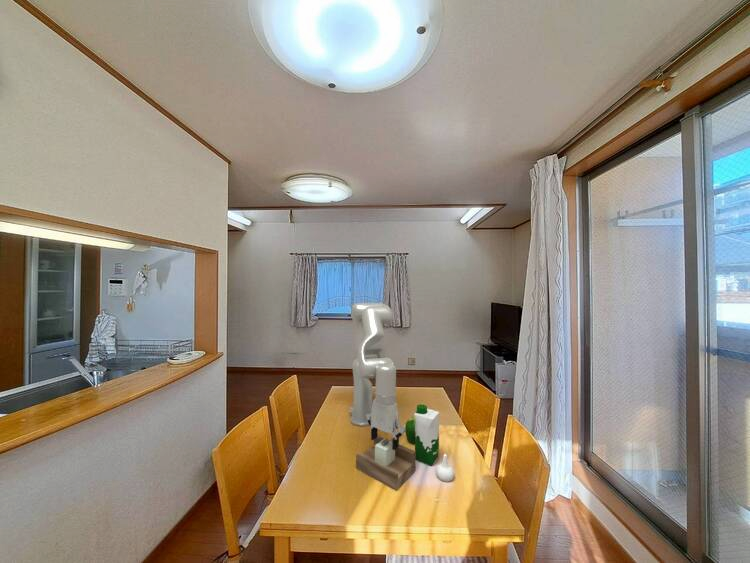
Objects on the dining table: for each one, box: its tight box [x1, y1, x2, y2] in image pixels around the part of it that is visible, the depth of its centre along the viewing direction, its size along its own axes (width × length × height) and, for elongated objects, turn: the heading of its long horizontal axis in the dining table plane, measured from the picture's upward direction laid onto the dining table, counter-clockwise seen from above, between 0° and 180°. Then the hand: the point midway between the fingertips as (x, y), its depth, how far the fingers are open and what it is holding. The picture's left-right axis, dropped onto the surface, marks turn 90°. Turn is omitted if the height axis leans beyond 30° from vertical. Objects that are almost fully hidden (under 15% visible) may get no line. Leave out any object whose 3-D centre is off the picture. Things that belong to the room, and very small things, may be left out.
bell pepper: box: [404, 415, 415, 445], centre depth 120 cm, size 8×8×10 cm
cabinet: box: [375, 437, 395, 467], centre depth 101 cm, size 5×6×7 cm
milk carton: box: [413, 404, 440, 467], centre depth 108 cm, size 9×9×20 cm
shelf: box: [355, 435, 417, 491], centre depth 101 cm, size 13×18×7 cm
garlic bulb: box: [435, 453, 455, 482], centre depth 98 cm, size 6×6×8 cm
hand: (384, 443), depth 102 cm, fingers open, 9 cm apart
